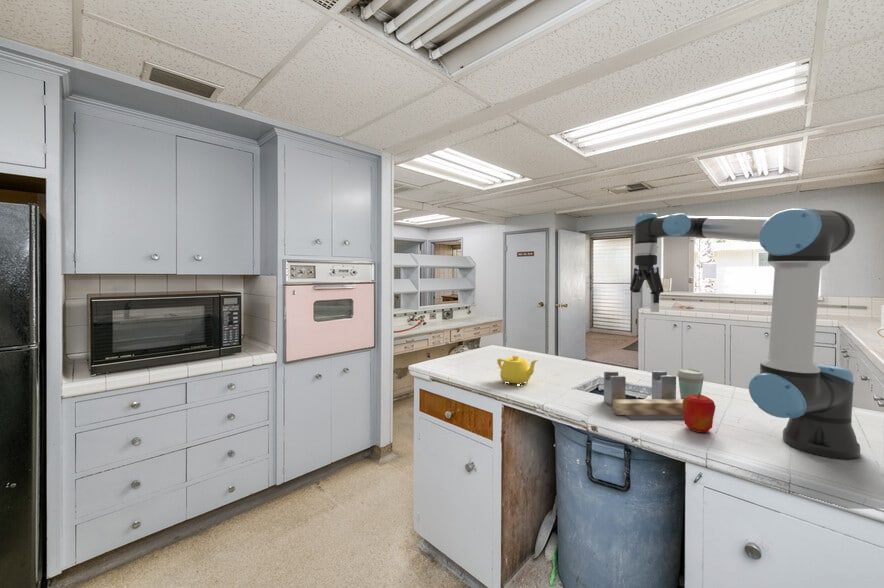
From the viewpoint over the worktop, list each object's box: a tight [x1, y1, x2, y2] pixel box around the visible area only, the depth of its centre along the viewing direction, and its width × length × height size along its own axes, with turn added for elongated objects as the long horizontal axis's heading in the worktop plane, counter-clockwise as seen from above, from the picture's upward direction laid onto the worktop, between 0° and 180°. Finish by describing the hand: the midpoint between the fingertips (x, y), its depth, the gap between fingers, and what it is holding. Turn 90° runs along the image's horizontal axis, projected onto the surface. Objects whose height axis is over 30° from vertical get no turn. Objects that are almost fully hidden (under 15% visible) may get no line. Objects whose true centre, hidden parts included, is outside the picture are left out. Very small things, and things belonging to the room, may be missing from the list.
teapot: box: [496, 355, 539, 384], centre depth 168 cm, size 13×20×12 cm
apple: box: [682, 393, 716, 433], centre depth 115 cm, size 9×8×12 cm
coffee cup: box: [676, 368, 705, 399], centre depth 139 cm, size 8×8×12 cm
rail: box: [612, 398, 684, 416], centre depth 128 cm, size 26×4×4 cm, turn 88°
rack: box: [603, 370, 677, 408], centre depth 138 cm, size 7×23×12 cm, turn 88°
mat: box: [624, 415, 684, 421], centre depth 128 cm, size 10×24×1 cm, turn 88°
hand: (645, 310), depth 143 cm, fingers open, 13 cm apart
